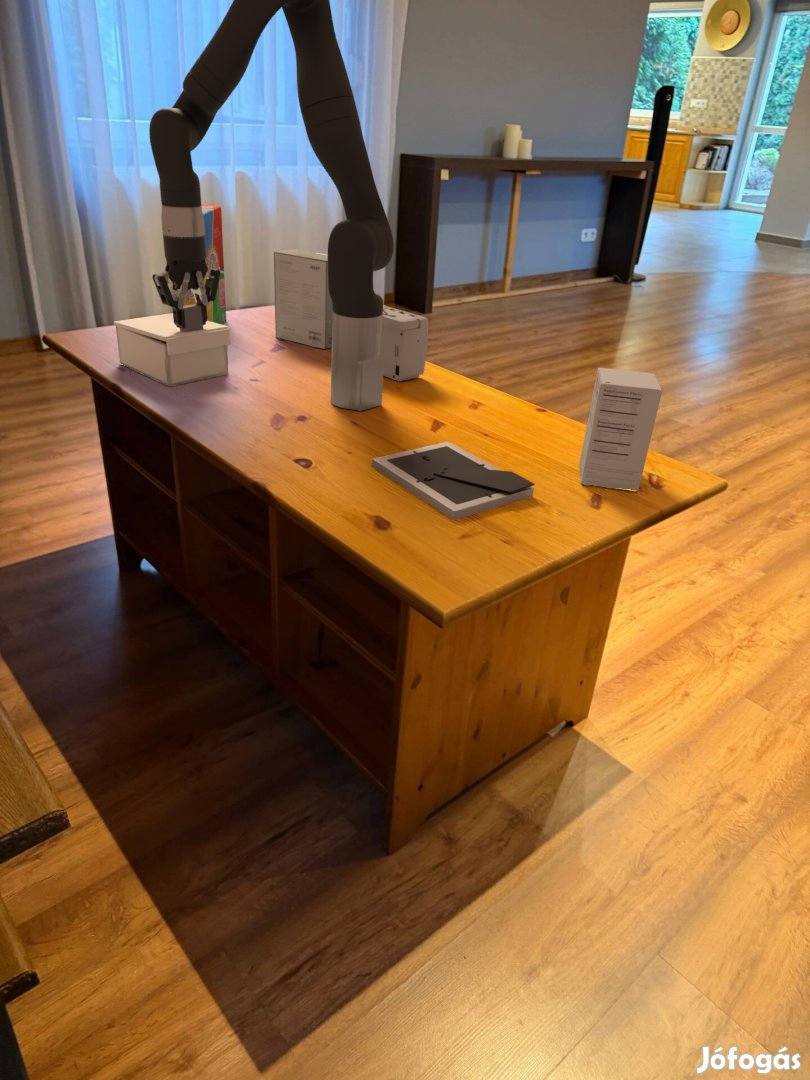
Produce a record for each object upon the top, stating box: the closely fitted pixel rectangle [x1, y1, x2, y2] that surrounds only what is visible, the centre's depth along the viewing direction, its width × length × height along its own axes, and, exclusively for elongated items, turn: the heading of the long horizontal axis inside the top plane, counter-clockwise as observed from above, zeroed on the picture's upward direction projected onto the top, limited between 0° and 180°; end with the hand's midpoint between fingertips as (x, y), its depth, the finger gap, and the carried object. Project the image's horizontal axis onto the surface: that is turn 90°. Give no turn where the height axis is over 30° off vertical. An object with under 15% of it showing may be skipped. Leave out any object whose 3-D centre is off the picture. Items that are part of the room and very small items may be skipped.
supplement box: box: [578, 367, 663, 491], centre depth 121 cm, size 10×9×17 cm
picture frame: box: [371, 441, 535, 521], centre depth 119 cm, size 16×3×21 cm
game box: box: [183, 204, 227, 325], centre depth 180 cm, size 21×6×27 cm, turn 179°
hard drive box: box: [273, 248, 333, 350], centre depth 179 cm, size 16×8×20 cm, turn 58°
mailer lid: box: [113, 304, 231, 355], centre depth 153 cm, size 19×15×8 cm
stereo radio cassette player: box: [381, 304, 429, 383], centre depth 163 cm, size 21×8×20 cm, turn 46°
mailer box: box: [115, 326, 229, 387], centre depth 156 cm, size 18×14×8 cm
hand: (191, 325), depth 149 cm, fingers closed on mailer lid, 4 cm apart
